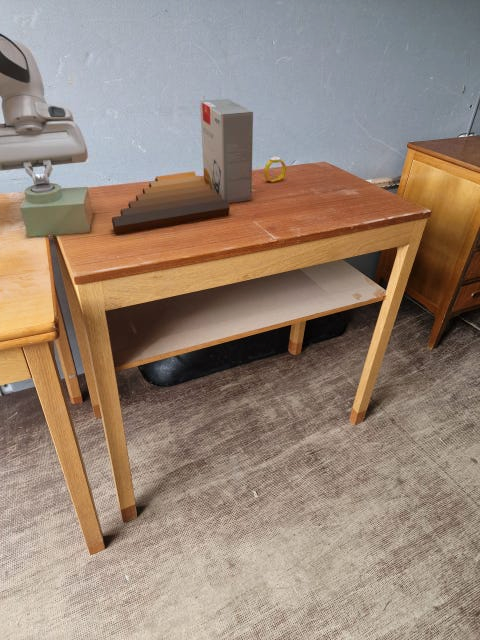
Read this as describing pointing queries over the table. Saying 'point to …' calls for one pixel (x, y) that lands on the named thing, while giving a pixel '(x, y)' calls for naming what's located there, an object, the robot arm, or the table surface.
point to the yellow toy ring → (272, 160)
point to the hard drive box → (227, 148)
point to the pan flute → (171, 204)
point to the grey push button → (42, 188)
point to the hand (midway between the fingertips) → (42, 184)
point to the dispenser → (57, 211)
